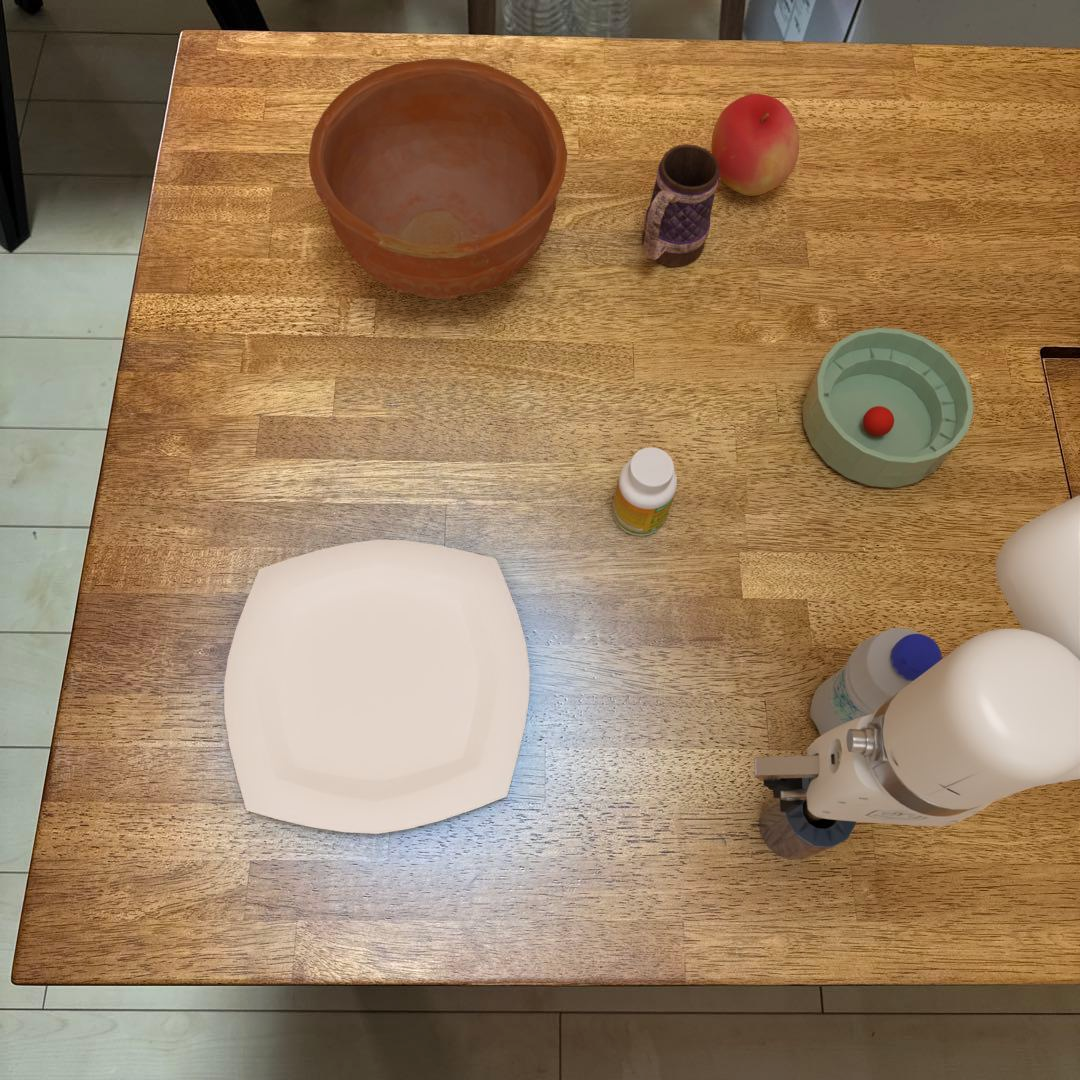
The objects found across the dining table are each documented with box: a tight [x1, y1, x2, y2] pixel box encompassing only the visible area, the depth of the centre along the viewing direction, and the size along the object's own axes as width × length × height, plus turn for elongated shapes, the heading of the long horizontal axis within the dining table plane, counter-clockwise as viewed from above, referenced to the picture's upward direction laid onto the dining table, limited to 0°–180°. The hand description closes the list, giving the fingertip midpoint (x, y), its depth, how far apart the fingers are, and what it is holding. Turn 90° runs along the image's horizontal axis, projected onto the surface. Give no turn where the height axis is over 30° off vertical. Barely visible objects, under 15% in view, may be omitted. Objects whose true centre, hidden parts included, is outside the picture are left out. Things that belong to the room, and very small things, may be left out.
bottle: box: [809, 627, 943, 736], centre depth 83 cm, size 7×7×20 cm
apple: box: [710, 93, 800, 197], centre depth 112 cm, size 10×10×10 cm
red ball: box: [863, 406, 894, 436], centre depth 102 cm, size 3×3×3 cm
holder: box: [758, 778, 857, 861], centre depth 84 cm, size 6×6×9 cm
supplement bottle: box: [611, 446, 678, 537], centre depth 95 cm, size 5×5×10 cm
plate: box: [223, 538, 531, 835], centre depth 91 cm, size 27×27×2 cm
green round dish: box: [802, 327, 975, 489], centre depth 102 cm, size 15×15×6 cm
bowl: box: [308, 58, 568, 301], centre depth 105 cm, size 25×25×15 cm
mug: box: [641, 144, 720, 267], centre depth 107 cm, size 10×7×12 cm
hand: (849, 795), depth 75 cm, fingers open, 9 cm apart
